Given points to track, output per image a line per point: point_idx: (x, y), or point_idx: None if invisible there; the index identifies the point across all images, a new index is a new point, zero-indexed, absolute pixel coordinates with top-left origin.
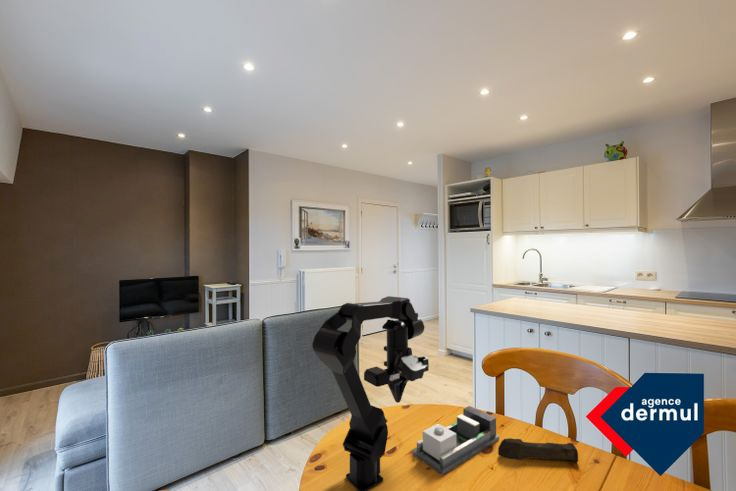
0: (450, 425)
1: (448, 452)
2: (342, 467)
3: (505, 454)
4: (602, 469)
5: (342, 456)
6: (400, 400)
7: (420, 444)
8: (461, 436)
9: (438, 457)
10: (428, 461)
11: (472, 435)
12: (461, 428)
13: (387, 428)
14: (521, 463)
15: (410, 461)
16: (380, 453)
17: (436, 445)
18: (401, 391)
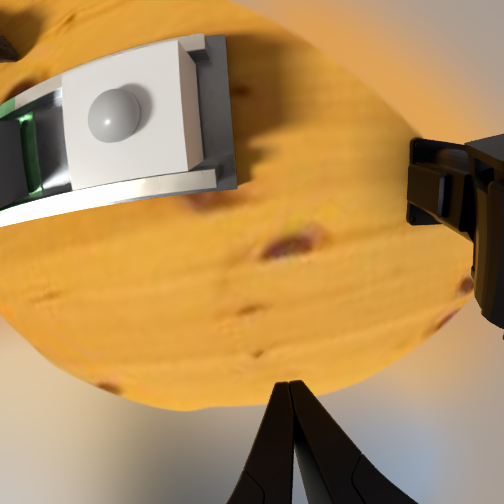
0: (30, 213)
1: None
2: (444, 258)
3: (9, 48)
4: None
5: (417, 297)
6: (274, 390)
7: (208, 169)
8: (31, 168)
9: (194, 73)
10: (229, 98)
11: (9, 131)
12: (12, 179)
13: (500, 185)
14: (11, 25)
15: (273, 157)
16: (491, 141)
17: (185, 73)
18: (286, 459)
